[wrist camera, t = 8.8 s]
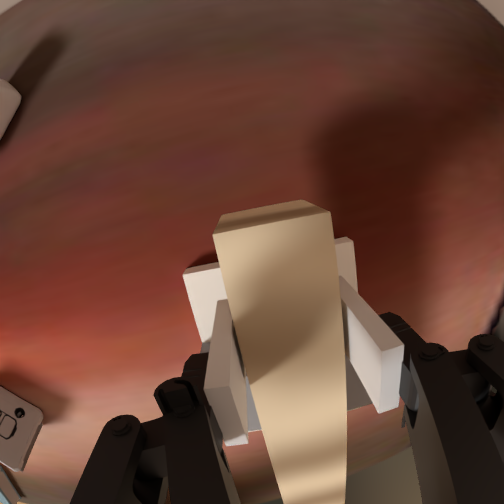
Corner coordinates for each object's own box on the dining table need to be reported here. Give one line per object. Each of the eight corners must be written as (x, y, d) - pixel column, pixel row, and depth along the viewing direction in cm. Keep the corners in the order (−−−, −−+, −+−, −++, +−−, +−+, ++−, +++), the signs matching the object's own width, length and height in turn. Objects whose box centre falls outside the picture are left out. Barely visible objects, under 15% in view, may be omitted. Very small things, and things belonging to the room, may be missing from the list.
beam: (221, 215, 15) (212, 234, 10) (301, 199, 15) (330, 211, 10) (287, 489, 21) (293, 533, 16) (331, 480, 21) (343, 523, 16)
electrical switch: (44, 409, 26) (12, 465, 17) (51, 431, 28) (24, 483, 19) (-11, 376, 25) (-47, 421, 16) (-3, 400, 27) (-33, 444, 18)
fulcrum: (186, 268, 22) (166, 304, 16) (346, 236, 22) (383, 260, 16) (233, 422, 26) (233, 474, 20) (355, 397, 26) (377, 444, 20)
